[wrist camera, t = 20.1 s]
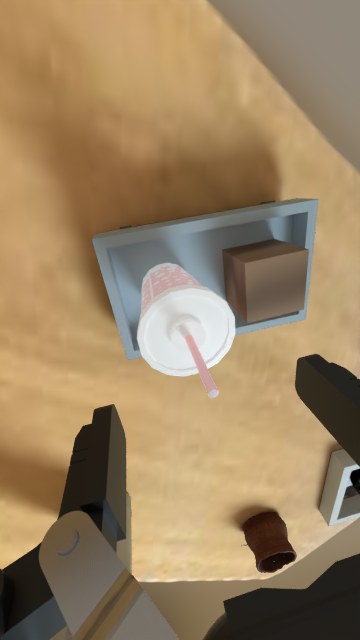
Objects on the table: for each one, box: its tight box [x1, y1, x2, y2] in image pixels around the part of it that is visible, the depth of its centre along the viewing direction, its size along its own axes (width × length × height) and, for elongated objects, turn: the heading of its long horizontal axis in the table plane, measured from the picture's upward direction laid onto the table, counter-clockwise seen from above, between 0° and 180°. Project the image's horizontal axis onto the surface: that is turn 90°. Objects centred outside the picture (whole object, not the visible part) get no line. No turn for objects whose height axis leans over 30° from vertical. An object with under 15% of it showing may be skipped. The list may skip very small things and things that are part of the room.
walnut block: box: [222, 239, 309, 323], centre depth 22 cm, size 5×5×5 cm
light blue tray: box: [92, 198, 318, 360], centre depth 24 cm, size 18×11×4 cm, turn 98°
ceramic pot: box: [241, 512, 297, 573], centre depth 50 cm, size 18×18×7 cm
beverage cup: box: [137, 263, 235, 398], centre depth 17 cm, size 6×6×14 cm
